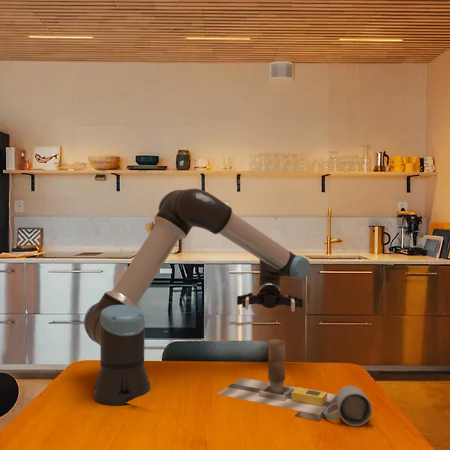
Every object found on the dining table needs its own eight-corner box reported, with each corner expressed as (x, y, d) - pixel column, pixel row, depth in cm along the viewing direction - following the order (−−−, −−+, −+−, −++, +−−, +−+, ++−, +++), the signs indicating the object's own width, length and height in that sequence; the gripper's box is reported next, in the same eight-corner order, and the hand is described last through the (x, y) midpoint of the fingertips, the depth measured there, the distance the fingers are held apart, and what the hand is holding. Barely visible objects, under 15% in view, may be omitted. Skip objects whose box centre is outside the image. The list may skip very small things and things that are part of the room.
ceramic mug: (364, 413, 119) (364, 382, 119) (372, 427, 111) (372, 394, 111) (321, 412, 120) (321, 381, 120) (325, 426, 112) (325, 393, 112)
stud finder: (291, 400, 123) (291, 391, 123) (297, 394, 127) (297, 386, 127) (322, 406, 119) (322, 397, 119) (327, 400, 123) (327, 391, 123)
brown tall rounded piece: (265, 395, 127) (265, 342, 126) (272, 389, 131) (272, 338, 130) (281, 398, 125) (281, 344, 124) (287, 392, 128) (287, 340, 128)
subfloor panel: (216, 399, 128) (216, 389, 128) (241, 382, 141) (242, 373, 141) (319, 421, 114) (319, 409, 114) (336, 400, 127) (336, 390, 127)
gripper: (306, 308, 161) (312, 320, 140) (232, 305, 163) (227, 316, 142) (307, 285, 161) (313, 294, 140) (232, 282, 163) (227, 291, 142)
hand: (269, 305), depth 141 cm, fingers open, 13 cm apart
